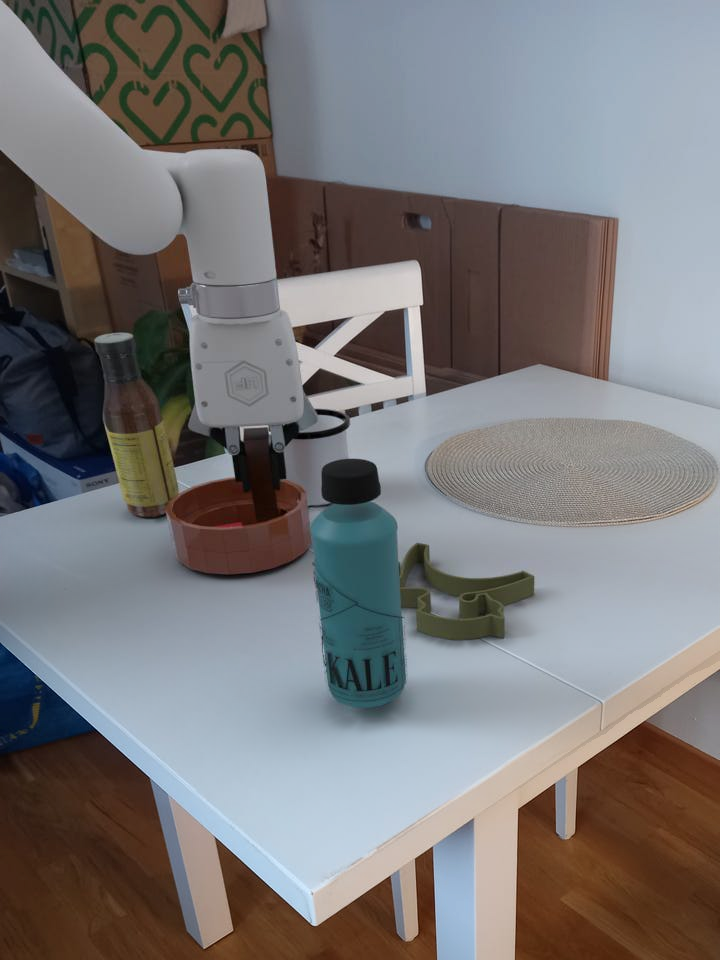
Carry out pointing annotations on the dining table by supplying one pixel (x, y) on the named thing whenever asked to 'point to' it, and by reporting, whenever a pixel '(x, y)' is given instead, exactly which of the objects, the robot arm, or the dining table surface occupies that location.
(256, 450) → the stick
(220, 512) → the bowl
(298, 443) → the mug
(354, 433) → the dining table surface
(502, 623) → the cookie cutter
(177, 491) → the sauce bottle
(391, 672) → the beverage bottle
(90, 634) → the dining table surface
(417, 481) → the dining table surface
